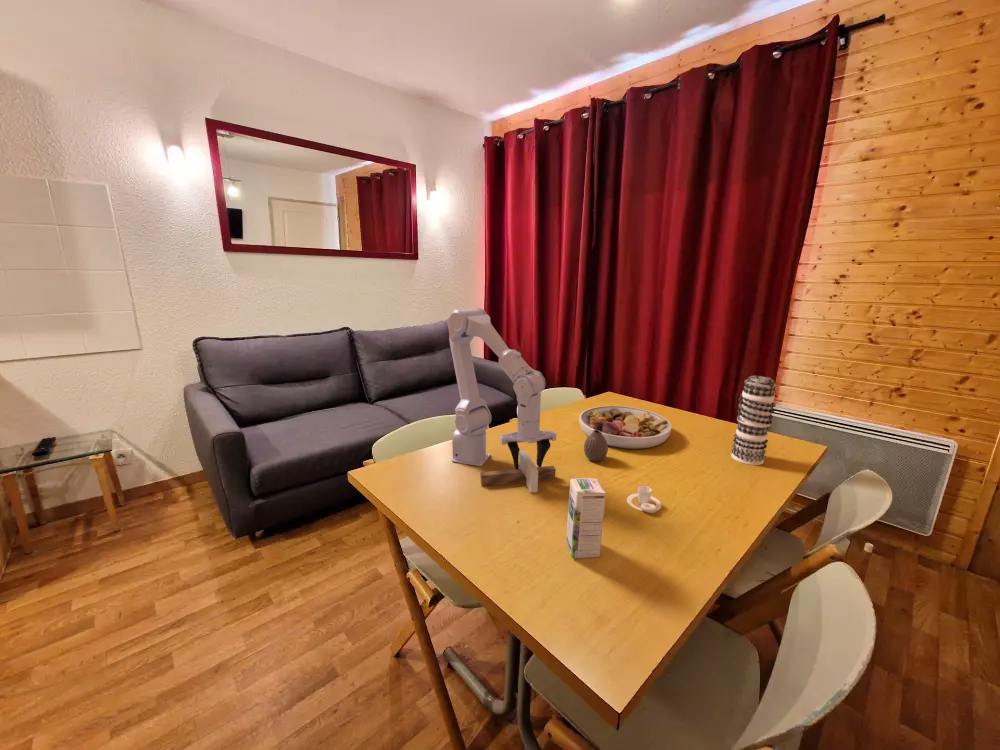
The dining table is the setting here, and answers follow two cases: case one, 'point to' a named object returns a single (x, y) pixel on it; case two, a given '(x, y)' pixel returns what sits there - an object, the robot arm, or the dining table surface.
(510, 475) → the walnut rail
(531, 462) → the notched white slab
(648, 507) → the teacup and saucer
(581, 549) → the syrup box
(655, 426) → the bowl
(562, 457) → the dining table surface
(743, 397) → the decorative candle
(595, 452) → the vase
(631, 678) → the dining table surface
